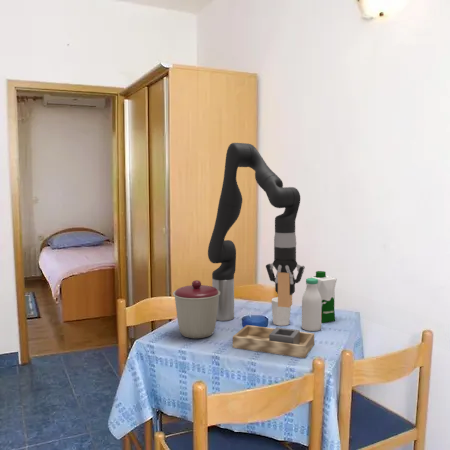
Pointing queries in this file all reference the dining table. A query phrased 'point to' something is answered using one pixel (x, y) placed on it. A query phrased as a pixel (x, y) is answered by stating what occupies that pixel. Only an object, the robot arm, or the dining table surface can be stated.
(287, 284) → the plug
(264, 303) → the dining table surface
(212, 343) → the dining table surface
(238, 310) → the dining table surface
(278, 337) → the socket
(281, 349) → the oak box
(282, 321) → the white cup
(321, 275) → the milk carton
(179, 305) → the canister
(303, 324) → the milk bottle
